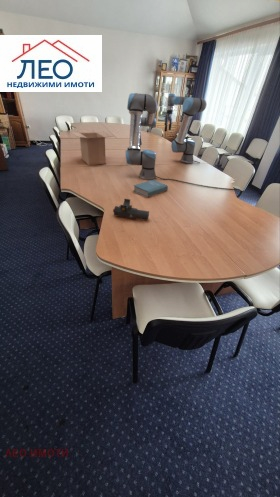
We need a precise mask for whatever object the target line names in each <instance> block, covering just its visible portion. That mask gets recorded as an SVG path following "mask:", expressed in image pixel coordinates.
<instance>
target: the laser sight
mask: <svg viewBox="0 0 280 497" xmlns="http://www.w3.org/2000/svg"><path fill="white" fill-rule="evenodd" d="M112 213H113V215H114V216H115V217H116V216H117V217H119V218H127V219H131V220H132V219H133V220H136V219H137V220H142V221H143V220H145V221H149V217H150V210H149V211H148V210H143V209H138V208H135V207H133V205H131V199H130V198H124V199H123V204H120V205H119V206H118V205H115V206H114V208H113V210H112Z"/></svg>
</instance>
